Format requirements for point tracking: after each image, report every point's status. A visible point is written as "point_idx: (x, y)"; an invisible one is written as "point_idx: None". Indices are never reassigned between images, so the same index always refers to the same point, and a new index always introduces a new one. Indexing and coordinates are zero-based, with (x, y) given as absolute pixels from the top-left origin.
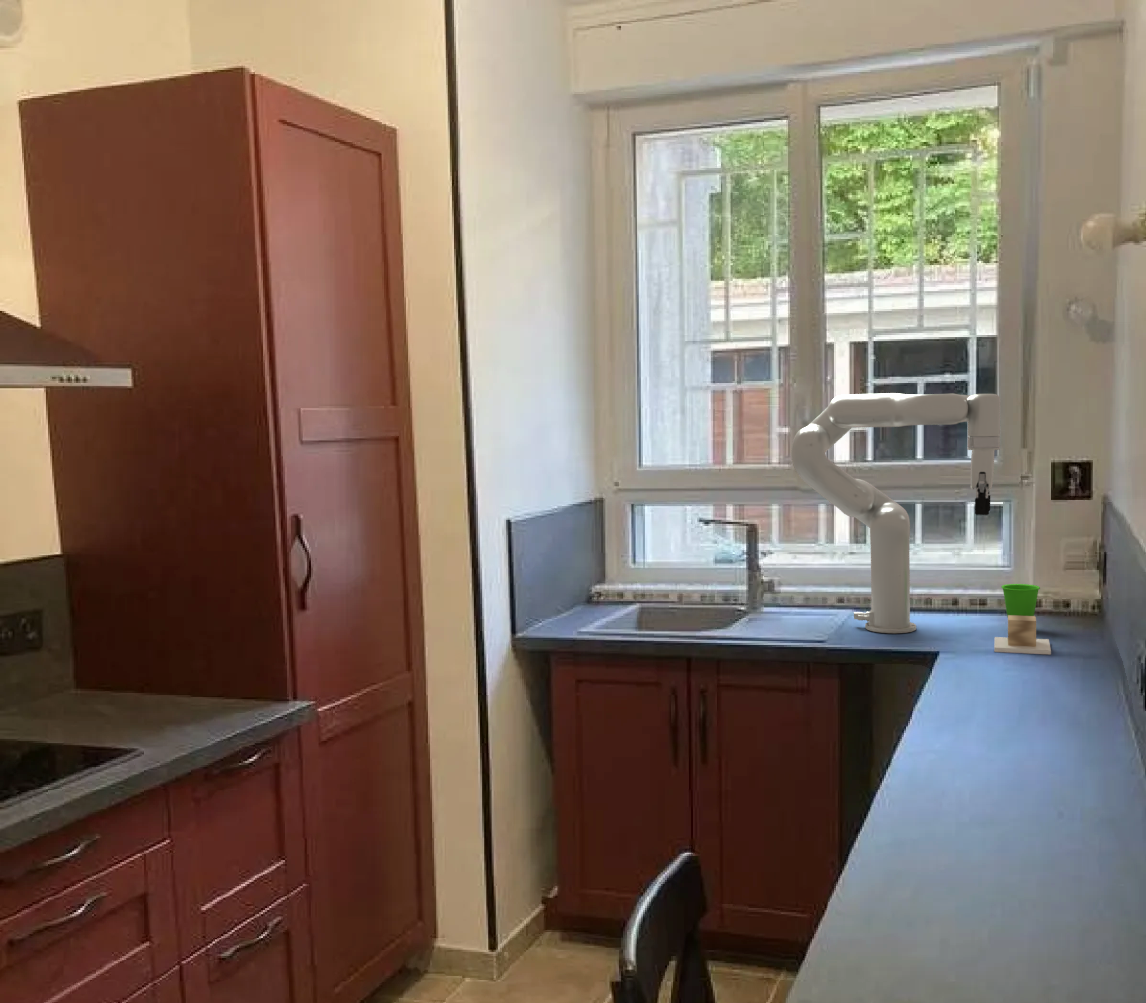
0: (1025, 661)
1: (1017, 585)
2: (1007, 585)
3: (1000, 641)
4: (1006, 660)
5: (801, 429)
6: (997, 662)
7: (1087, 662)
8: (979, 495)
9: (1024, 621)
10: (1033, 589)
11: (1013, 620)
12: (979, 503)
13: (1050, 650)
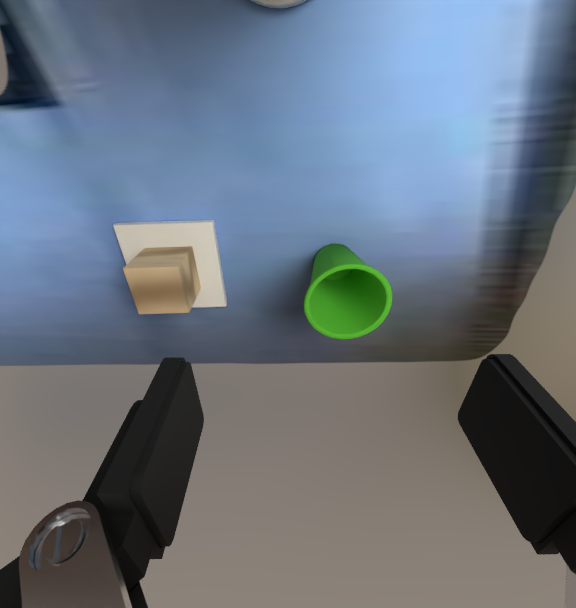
0: (73, 272)
1: (386, 296)
2: (377, 276)
3: (173, 234)
4: (60, 244)
5: None
6: (35, 230)
7: (118, 344)
8: (10, 573)
9: (132, 295)
10: (314, 328)
11: (126, 277)
12: (107, 465)
13: None
